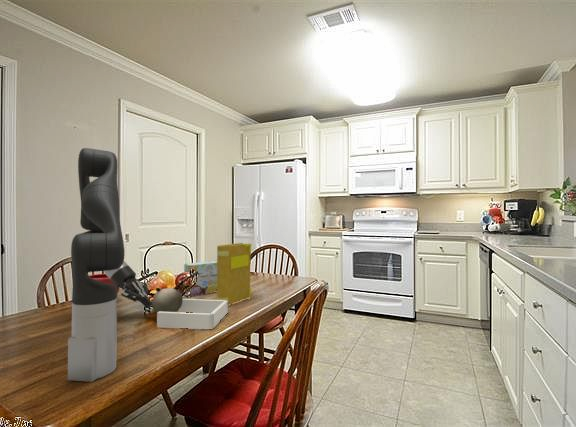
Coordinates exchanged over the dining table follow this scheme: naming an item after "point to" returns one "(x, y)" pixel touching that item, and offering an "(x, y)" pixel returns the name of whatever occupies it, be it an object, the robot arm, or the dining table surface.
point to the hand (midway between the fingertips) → (150, 306)
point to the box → (194, 314)
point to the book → (233, 272)
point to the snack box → (203, 277)
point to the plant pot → (103, 279)
